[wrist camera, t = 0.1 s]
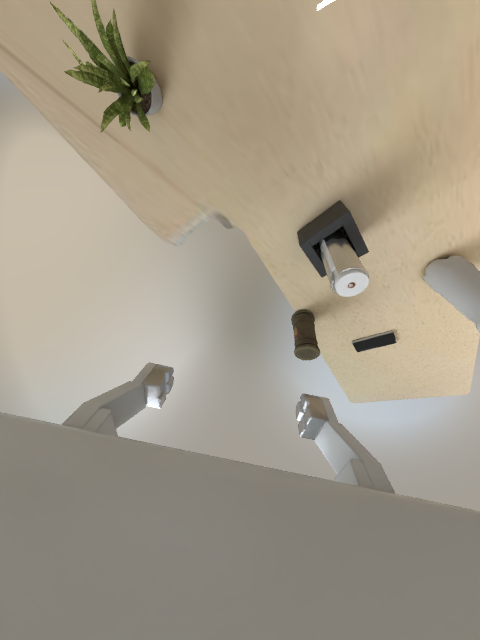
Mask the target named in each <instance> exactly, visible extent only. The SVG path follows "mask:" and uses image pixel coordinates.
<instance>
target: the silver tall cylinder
mask: <svg viewBox="0 0 480 640" xmlns="http://www.w3.org/2000/svg"><path fill="white" fill-rule="evenodd" d="M317 246H318V249H319V252H320V255H321V258H322V261H323V264H324V267H325V270H326V273H327V276H328V279H329V282H330V285H331V288H332V290H333V291H334V292H335V293H336V294H338V295H341V296H344V297H350V296H355V295H357V294H359V293H361V292H362V291H364V290H365V288H366V287H367V286H368V284H369V275H368V272H367V271H366V269H365V268H364V266H363V265H362V263H361V261H360V260H359V258H358V257H357V255H356V253H355V252H354V250H353V249H352V247H351V245H350V244H349V242H348V241H347V239H346V237H345V236H344V234H343V233H342V231H341V230H340V228H339V229H338V230H336V231H335V232H333V233H332V234H330V235H329V236H327V237H326V238H324V239H323V240H321V241H320V242H318V243H317Z"/></svg>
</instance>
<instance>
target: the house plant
mask: <svg viewBox="0 0 480 640" xmlns="http://www.w3.org/2000/svg"><path fill="white" fill-rule="evenodd" d="M91 2H92V8H93V14H94V18H95V22H96V26H97V29H98V32H99V35H100V38H101V41H102V43H103V45H104V47H105V49H106V51H107V52H108V54H109V55H110V57H111V59H112V60H113V62H114V64H115V65H116V66H115V65H114V64H112V63H111V62H110V61H109V60H108V59H107V58H106V56H105V55H104V54H103V53H102V52H101V51H100V50H99V49H98V48H97V47H96V46H95V44H94V43H93V42H92V41H91V40H90V39H89V38H88V37H87V36H86V35H85V34H84V33H83V32H82V31H81V30H80V29H79V28H78V27H76V26H75V25H74V24H73V22H72V21H71V20H70V19H67V18H66V17H65V16H64V14H63V13H62V12H61V11H60V10H59V9H58V8H57V7H55V6H54V5H53V4H52V3H51V2H50V3H51V5H52V6H53V8H54V9H55V11H56V12H57V13H58V15H59V16H60V18H61V19H62V20H63V21H64V23H65V24H66V25H67V26H68V28H69V29H70V30H71V31H72V32H73V33H74V35H75V36H76V37H77V38H78V39H79V40H80V42H81V43H82V45H83V46H84V48H85V49H86V51H87V52H88V53H89V55H90V57H91V59H92V60H93V62H94V63H95V64H96V65H97V66H99V67H97V66H94V65H92V64H91V63H90V62H86V65H84V64H83V63H82V62H81V61H80V59H79V58H78V57H77V56H76V54H75V53H74V52H73V51H72V49H71V48H70V47H69V46H68V45H67V44H66V43H65V42H64V43H65V44H66V45H67V47H68V48H69V49H70V51H71V52H72V53H73V55H74V56H75V58H76V59H77V61H78V62H79V63H80V65H79V66H77V67H75V69H78V70H80V71H75V70H68V71H64V72H65V73H67V74H68V75H70V76H72V77H73V78H75V79H77V80H79V81H82V82H84V83H86V84H89V85H92V86H95V87H97V88H100V90H99V92H101V91H103V90H105V91H111V92H116V93H118V95H119V99H118V100H117V101H115V102H113V103H112V104H111V105H110V106H109V107H108V108H107V109H106V110H105V111H104V115H103V121H102V123H101V132H102V131H103V130H104V129H105V128H106V127H107V126H108V124H109V123H110V122H111V121H112V120H113V119H114V118H115V117H116V116H117V115H119V122H120V127H123V126H125V125H126V124H127V126H128V128H129V130H130V113H131V114H133V115H134V116H136V117H139V120H140V122H141V124H142V125H143V126H144V127H145V128H146V129H147V130H148V131H149V133H150V125H149V122H148V119H147V117H146V116H149V115H151V114H154V113H156V112H158V111H159V110H160V108H161V106H162V100H163V98H162V92H161V88H160V86H159V84H158V82H157V81H156V79H155V78H156V77H155V76H154V75H153V74H152V72H151V71H150V70H149V68H148V67H147V65H148V63H149V62H150V61H142V62H137V61H136V60H135V59H133V58H131V57H128V56H126V53H125V51H124V48H123V44H122V41H121V37H120V33H119V30H118V27H117V22H116V15H115V11H114V10H113V27H112V24H111V20H110V21H109V23H108V25H107V27H106V32H105V29H104V26H103V24H102V21H101V18H100V15H99V12H98V10H97V5H96V0H91ZM106 34H107V35H106ZM101 132H100V133H101Z"/></svg>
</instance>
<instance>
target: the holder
mask: <svg viewBox="0 0 480 640" xmlns="http://www.w3.org/2000/svg"><path fill="white" fill-rule="evenodd" d="M341 227H342V228H343V230H344V232H345V234H346V236H347V237H346V239H347V241H348V242H349V244H350V245H351V247H352V249H353V250H354V252H355V253H356V255H357V257H358V258H359V257H360V256H362V255H364V254H366V253H368V252H369V251H368V249H367V247H366V245H365V243H364V241H363V238H362V236H361V234H360V232H359V230H358V228H357V226H356V224H355V222H354V220H353V217H352V215H351V213H350V211H349V210H348V209H347V208H346V207H345V206H344V204H343V203H342V202H341V201H338V202H337V203H336V204H334V205H333V206H332V207H330V208H329V209H327V210H326V211H325V212H323V213H322V214H321V215H319V216H318V217H317V218H315V219H314V220H313V221H311V222H310V223H309V224H307V225H306V226H305V227H303V228H302V229H301V230H299V231H298V232H297V234H298V239H299V245H300V247H301V248H302V250H303V251H304V253H305V254H306V256H307V257H308V258H309V260H310V261H311V263H312V264H313V266H314V267H315V269H316V270H317V271H318V273H319V274H320V276H321V277H324V276H326V275H327V273H326V270H325V267H324V264H323V261H322V258H321V255H320V252H319V250H318V248H317V246H316V245H315V244H316V243H318V242H320V241H321V240H323V239H324V238H326V237H327V236H329V235H330V234H332V233H333V232H335V231H336V230H338V229H339V228H341Z"/></svg>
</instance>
